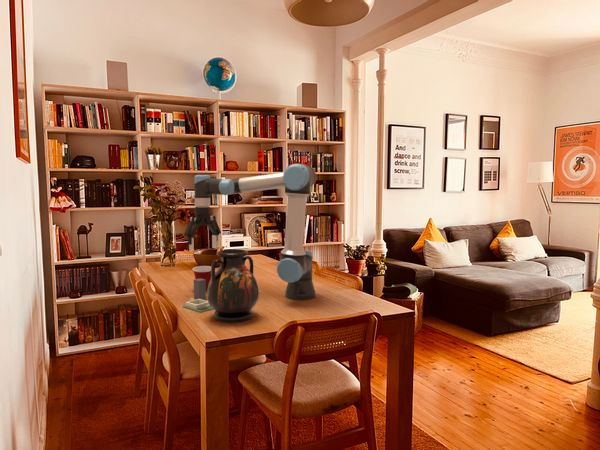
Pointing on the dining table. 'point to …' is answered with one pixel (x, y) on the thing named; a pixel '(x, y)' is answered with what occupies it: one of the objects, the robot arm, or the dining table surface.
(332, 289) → the dining table surface
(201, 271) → the plastic cup
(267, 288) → the dining table surface
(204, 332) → the dining table surface
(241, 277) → the amphora vase
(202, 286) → the dark grey rectangular block
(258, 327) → the dining table surface
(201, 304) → the board
